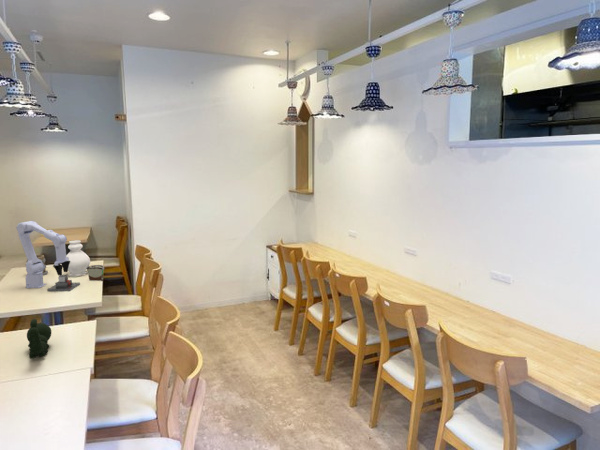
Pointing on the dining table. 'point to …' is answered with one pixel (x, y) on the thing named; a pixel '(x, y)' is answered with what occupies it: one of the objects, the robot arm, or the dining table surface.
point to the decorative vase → (77, 259)
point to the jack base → (63, 286)
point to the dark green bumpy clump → (38, 338)
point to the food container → (95, 272)
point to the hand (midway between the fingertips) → (62, 273)
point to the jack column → (63, 278)
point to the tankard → (42, 262)
